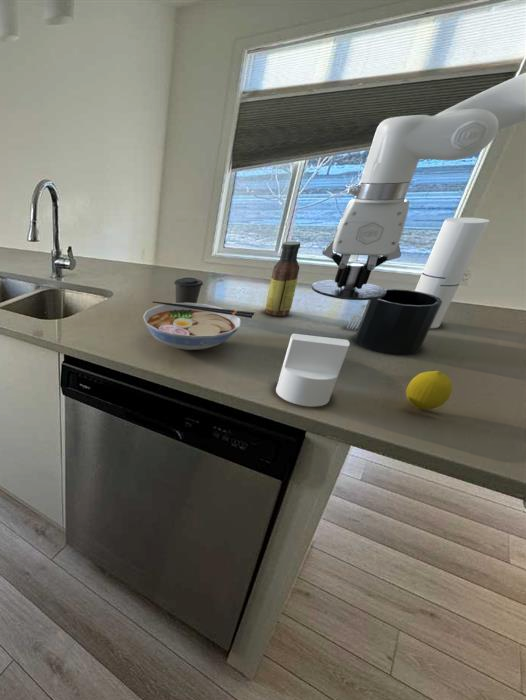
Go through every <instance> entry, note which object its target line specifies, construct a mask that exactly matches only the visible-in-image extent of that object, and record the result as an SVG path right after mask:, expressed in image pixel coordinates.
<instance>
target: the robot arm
mask: <svg viewBox="0 0 526 700" xmlns="http://www.w3.org/2000/svg"><path fill="white" fill-rule="evenodd" d="M522 122H526V72H524V73H521V74H518V75H517V76H514V77H512V78H510V79H507V80H505V81H503V82H500V83H498V84H496V85H494V86H491V87H490V88H488V89H486V90H483V91H481V92H479V93H477V94H475V95H472V96H470V97H469V98H466V99H465V100H462V101H460V102H458V103H456V104H455V105H452V106H450V107H448V108H446V109H444V110H442V111H440V112H438V113H437V114H434V115H429V114H415V115H413V114H412V115H401V116H393V117H389V118H386V119H383V120H382V121H381V122H379V125H378V126H377V128H376V130H375V133H374V136H373V139H372V142H371V146H370V149H369V151H368V155H367V158H366V162H365V163H364V164H365V165H364V168H363V171H362V173H361V177H360V180H359V182H358V184H356V185H353V186H349V187H348V190H347V193H346V194H347V195H352V196H354V199H350V200H349V201H348V204H347V205H346V207H345V209H344V211H343V213H342V215H341V218H340V220H339V223H338V225H337V228H336V231H335V233H334V237H333V238H332V239H331V241H330V242H329V243H328V244H327V245H326V246H325V248H323V249H322V252H321V254H322V255H323V256H325V257H326V258H329V259H331V260H332V261H333V262H334V263H335V264H336V265H337V266H338V267H337V272H336V275H335V277H334V280H335V282H337V286H338V287H339V288H341V287H342V286H343V283H344V280H345V277H346V274H347V271H348V268H347V267H348V264H349V260H350V258H351V256H367V259H366V262H365V264H363V265H364V267H363V269H362V272H361V275H360V278H359V281H358V283H357V286H356V287H357V288H358V289H361V288H362V285H363V284H367V283H368V281H369V278H370V276H371V272H372V271H373V270H374V269H376V268H377V267H378V266H380V265H382V264H384V263H386V262H388V261H392V260H395V259H398V258H400V257H401V256H402V251H401V247H400V242H401V238H402V234H403V233H404V232H403V231H404V228H405V225H406V221H407V218H408V214H409V213H408V212H409V208H410V200H409V199H406V196H407V193H408V191H409V188H410V186H411V183H412V179H413V178H414V175H415V173H416V171H417V167H418V165H419V161H421V160H436V161H450V162H451V161H459V160H464V159H466V158H469V157H472V156H474V155H475V154H478V153H480V152H481V151H483V150H484V149H485V148H486V147H488V145H490V144H491V143H492V141H493V140H494V139H495V138H496V136H497V133H498V131H500V130H503V129H506V128H508V127H511V126H514V125H517V124H520V123H522Z"/></svg>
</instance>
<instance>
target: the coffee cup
mask: <svg viewBox="0 0 526 700" xmlns="http://www.w3.org/2000/svg"><path fill="white" fill-rule="evenodd" d="M173 284H174V285H175V303H198V299H199V296H200V292H201V288H202V286H203V285H204V282H203V280H202V279H199V278H196V277H182V278H181V277H180V278H177V279H176V280H175V281H174V282H173Z"/></svg>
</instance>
